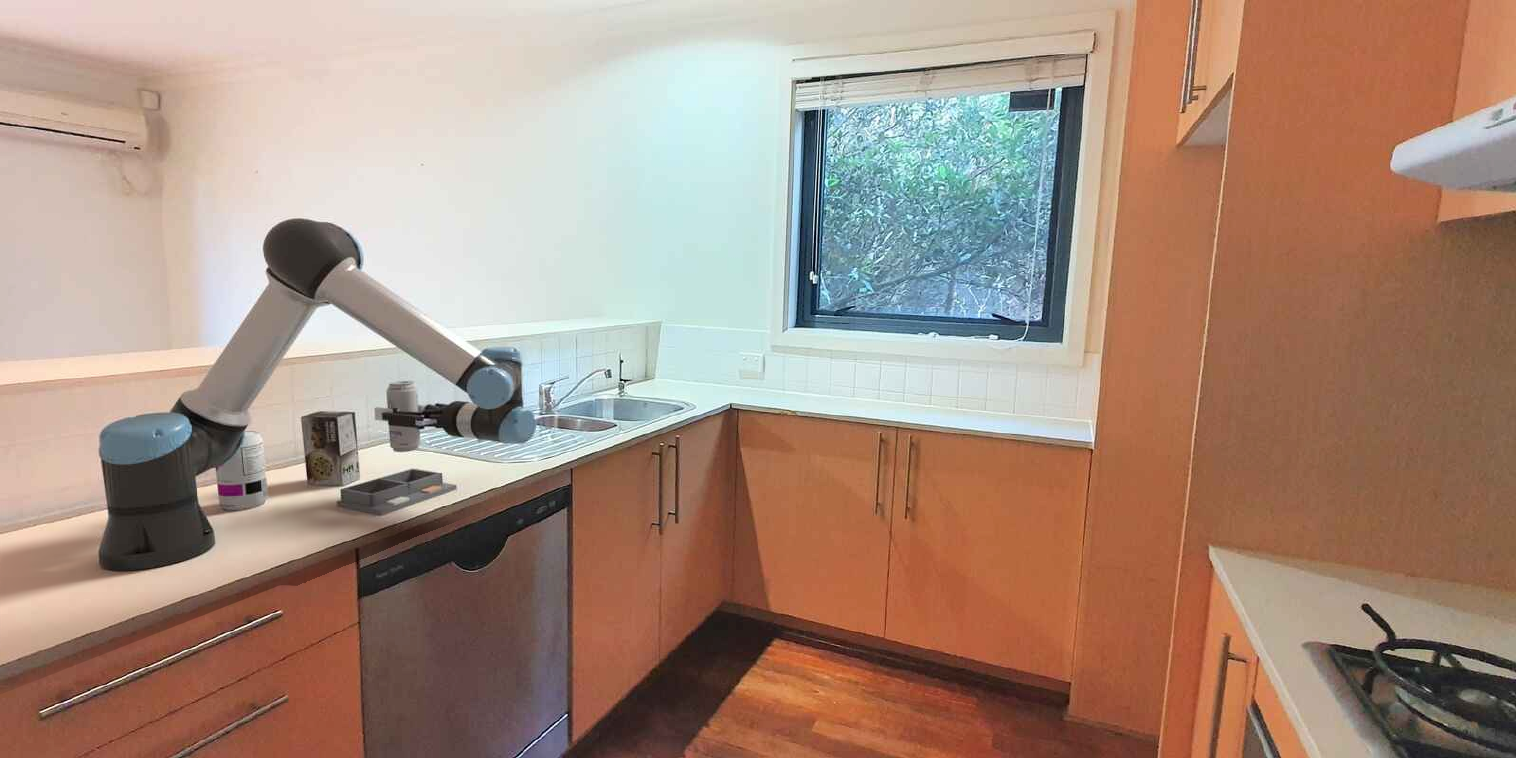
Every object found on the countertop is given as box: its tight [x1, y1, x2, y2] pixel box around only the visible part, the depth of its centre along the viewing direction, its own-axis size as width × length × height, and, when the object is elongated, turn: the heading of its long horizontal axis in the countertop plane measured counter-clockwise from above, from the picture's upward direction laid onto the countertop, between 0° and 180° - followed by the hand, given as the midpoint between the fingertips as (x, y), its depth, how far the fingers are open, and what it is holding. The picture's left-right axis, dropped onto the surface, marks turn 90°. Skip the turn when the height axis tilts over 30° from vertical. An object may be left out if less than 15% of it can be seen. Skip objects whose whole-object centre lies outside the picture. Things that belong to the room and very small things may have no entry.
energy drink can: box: [385, 380, 422, 453], centre depth 154 cm, size 6×6×15 cm
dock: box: [336, 468, 458, 516], centre depth 151 cm, size 19×13×4 cm
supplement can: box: [215, 430, 269, 511], centre depth 144 cm, size 8×8×15 cm
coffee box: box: [300, 410, 361, 487], centre depth 161 cm, size 9×6×16 cm
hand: (389, 411), depth 155 cm, fingers closed on energy drink can, 6 cm apart
